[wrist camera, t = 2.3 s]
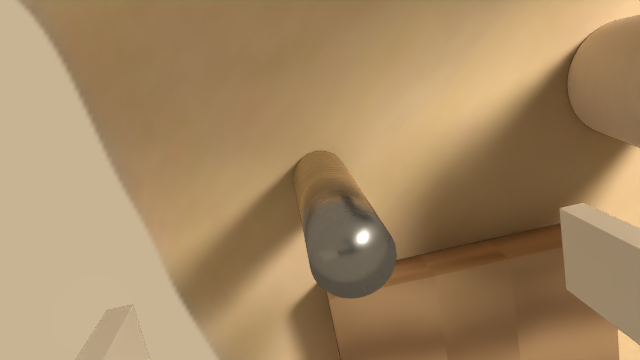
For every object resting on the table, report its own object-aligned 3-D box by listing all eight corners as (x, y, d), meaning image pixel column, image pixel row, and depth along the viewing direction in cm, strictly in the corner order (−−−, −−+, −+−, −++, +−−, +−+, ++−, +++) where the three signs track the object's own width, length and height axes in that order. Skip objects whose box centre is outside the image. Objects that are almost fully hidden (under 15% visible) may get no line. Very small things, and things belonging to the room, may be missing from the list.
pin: (288, 157, 29) (301, 226, 17) (341, 146, 29) (388, 208, 17) (299, 207, 30) (318, 306, 18) (350, 196, 30) (402, 288, 18)
